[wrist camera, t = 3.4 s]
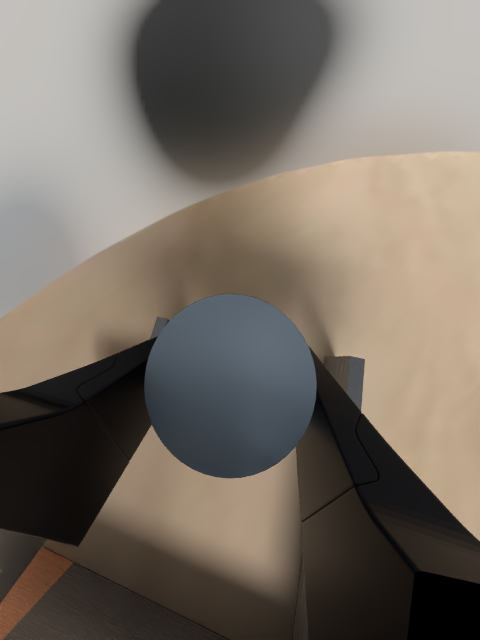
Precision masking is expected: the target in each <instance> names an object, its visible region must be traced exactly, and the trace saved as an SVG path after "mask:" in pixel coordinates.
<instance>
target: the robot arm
mask: <svg viewBox="0 0 480 640" xmlns="http://www.w3.org/2000/svg"><path fill="white" fill-rule="evenodd" d="M157 337H158V336H157ZM157 337H154V338H152V339H150V340H147V341H145V342H143V343H140V344H138V345H136V346H133V347H131V348H129V349H126V350H124V351H121V352H120V353H117V354H114V355H112V356H110V357H107V358H105V359H102V360H100V361H97V362H95V363H92V364H90V365H87V366H85V367H82V368H79V369H76V370H74V371H71V372H68V373H65V374H63V375H60V376H57V377H54V378H52V379H49V380H46V381H43V382H41V383H38V384H35V385H32V386H29V387H26V388H23V389H19V390H14V391H9V392H3V393H0V604H1V602H2V601H3V599H4V598H5V597H6V595H7V594H8V593H9V591H10V590H11V589H12V587H13V586H14V584H15V583H16V582H17V580H18V579H19V578H20V576H21V575H22V574H23V572H24V571H25V569H26V568H27V567H28V565H29V564H30V563H31V561H32V560H33V559H34V557H35V556H36V554H37V553H38V552H39V550H40V549H41V548H42V546H43V545H44V544H45V542H46V541H47V540H49V541H54V542H58V543H62V544H67V545H71V546H75V547H78V546H79V544H80V543H81V541H82V540H83V538H84V537H85V535H86V533H87V532H88V530H89V528H90V527H91V525H92V523H93V522H94V520H95V518H96V517H97V515H98V513H99V512H100V510H101V508H102V507H103V505H104V503H105V502H106V500H107V498H108V497H109V495H110V493H111V492H112V490H113V488H114V487H115V485H116V483H117V482H118V480H119V478H120V477H121V475H122V473H123V472H124V470H125V468H126V467H127V465H128V463H129V460H131V458H132V456H133V455H134V453H135V451H136V450H137V448H138V446H139V445H140V443H141V441H142V440H143V438H144V436H145V435H146V433H147V431H148V430H149V428H150V426H151V425H152V423H151V420H150V417H149V414H148V411H147V406H146V402H145V392H144V383H145V372H146V366H147V362H148V358H149V355H150V352H151V350H152V347H153V345H154V343H155V341H156V339H157ZM308 347H309V346H308ZM309 349H310V352H311V355H312V358H313V362H314V366H315V371H316V383H317V388H316V400H315V405H314V411H313V414H312V417H311V420H310V423H309V425H308V427H307V429H306V431H305V433H304V435H303V436H302V438H301V439H300V441H299V442H298V444H297V445H296V453H297V468H298V483H299V499H300V514H301V522H302V523H301V531H302V546H303V561H304V576H305V592H306V607H307V622H308V637H309V640H480V541H479V540H478V539H477V538H476V537H474V536H473V535H472V534H471V533H470V532H469V531H468V530H467V529H466V528H465V527H464V526H463V525H462V524H461V523H460V522H459V521H458V520H457V519H456V518H455V517H454V515H453V514H452V513H451V512H450V511H449V510H448V509H447V508H446V507H445V506H444V505H443V503H442V502H441V501H440V500H439V499H438V498H437V497H436V496H435V495H434V494H433V493H432V491H431V490H430V489H429V488H428V487H427V486H426V485H425V484H424V483H423V482H422V481H421V479H420V478H419V477H418V476H417V475H416V474H415V473H414V472H413V471H412V470H411V469H410V467H409V466H408V465H407V464H406V463H405V462H404V461H403V460H402V459H401V458H400V456H399V455H398V454H397V453H396V452H395V451H394V450H393V449H392V447H391V446H390V445H389V444H388V443H387V442H386V441H385V440H384V438H383V437H382V436H381V435H380V434H379V432H378V431H377V430H376V429H375V428H374V426H373V425H372V424H371V423H370V422H369V420H368V419H367V418H366V417H365V415H364V414H362V413H361V410H360V409H359V408H358V407H357V405H356V404H355V403H354V402H353V400H352V399H351V398H350V397H349V396H348V394H347V393H346V392H345V391H344V389H343V388H342V387H341V386H340V384H339V383H338V382H337V381H336V379H335V378H334V377H333V376H332V374H331V373H330V372H329V371H328V369H327V368H326V367H325V366H324V364H323V363H322V362H321V361H320V359H319V358H318V357H317V356H316V354H315V353H314V352H313V351H312V349H311V348H310V347H309Z"/></svg>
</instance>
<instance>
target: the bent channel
mask: <svg viewBox="0 0 480 640" xmlns="http://www.w3.org/2000/svg"><path fill="white" fill-rule="evenodd" d="M169 321H170V320H168V319H164V318H159V317H157V320H156V323H155V326H154V329H153V332H152V335H151V338H150V339H152V338H154V337H157V336H159V334H160V333H161V331H162V330H163V328H164V327H165V326H166V325H167V323H168V322H169ZM364 363H365V359H362V358H357V357H352V356H340V357H325V365H324V366H325V367H326V368H327V369H328V371H329V372H330V373H331V374H332V376H333V377H334V378H335V379H336V381H337V382H338V383H339V384H340V386H341V387H342V388H343V389H344V391H345V392H346V393H347V394H348V396H349V397H350V398H351V399H352V400H353V402H354V403H355V404H356V405H357V407H358V408H359V409H360V410H361V404H362V390H363V376H364ZM0 640H228V639H226V638H224V637H222V636H220V635H218V634H216V633H214V632H212V631H210V630H208V629H206V628H204V627H202V626H200V625H198V624H196V623H194V622H192V621H190V620H188V619H186V618H184V617H182V616H180V615H178V614H176V613H174V612H172V611H170V610H168V609H166V608H164V607H162V606H160V605H158V604H156V603H154V602H152V601H150V600H148V599H146V598H144V597H142V596H140V595H138V594H136V593H134V592H132V591H130V590H128V589H126V588H124V587H122V586H120V585H118V584H116V583H114V582H111V581H109V580H107V579H105V578H103V577H101V576H99V575H97V574H95V573H93V572H91V571H89V570H87V569H85V568H83V567H81V566H79V565H77V564H75V563H73V562H71V561H69V560H67V559H65V558H63V557H61V556H59V555H57V554H55V553H53V552H51V551H49V550H47V549H45V548H43V547H42V548H41V549H40V550H39V552H38V553H37V554H36V556H35V557H34V559H33V560H32V561H31V563H30V564H29V565H28V567H27V568H26V569H25V571H24V572H23V574H22V575H21V576H20V578H19V579H18V580H17V582H16V583H15V584H14V586H13V587H12V589H11V590H10V591H9V593H8V594H7V595H6V597H5V598H4V599H3V601H2V602H1V604H0ZM292 640H309V637H308V622H307V607H306V592H305V576H304V561H303V553H302V561H301V570H300V578H299V587H298V595H297V604H296V612H295V621H294V629H293V638H292Z"/></svg>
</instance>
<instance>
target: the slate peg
mask: <svg viewBox="0 0 480 640" xmlns="http://www.w3.org/2000/svg"><path fill="white" fill-rule="evenodd" d="M316 388H317V383H316V371H315V366H314V362H313V358H312V355H311V352H310V349H309V347H308V345H307V343H306V341H305V339H304V337H303V336H302V334H301V333H300V331H299V330H298V328H297V327H296V326H295V325H294V323H293V322H292V321H291V320H290V319H289V318H288V317H287V316H286V315H285V314H284V313H282V312H281V311H280V310H278V309H277V308H275V307H274V306H272V305H270V304H269V303H267V302H265V301H262V300H260V299H257V298H254V297H250V296H246V295H239V294H222V295H215V296H211V297H207V298H204V299H201V300H199V301H197V302H194V303H193V304H191V305H189V306H187V307H186V308H184V309H183V310H182V311H180V312H179V313H177V314H176V315H175V316H174V317H173V318H172V319H171V320H170V321H169V322H168V323H167V325H166V326H165V327H164V328H163V330H162V331H161V333H160V334H159V336H158V337H157V339H156V341H155V343H154V345H153V347H152V350H151V352H150V355H149V358H148V362H147V366H146V372H145V383H144V392H145V402H146V406H147V411H148V414H149V417H150V420H151V423H152V425H153V427H154V429H155V431H156V433H157V435H158V437H159V438H160V440H161V441H162V443H163V444H164V446H165V447H166V448H167V449H168V450H169V451H170V452H171V453H172V454H173V455H174V456H175V457H176V458H177V459H178V460H180V461H181V462H182V463H184V464H185V465H187V466H189V467H190V468H192V469H194V470H196V471H198V472H201V473H203V474H206V475H210V476H214V477H221V478H241V477H246V476H251V475H255V474H257V473H260V472H262V471H265V470H267V469H269V468H270V467H272V466H274V465H276V464H277V463H278V462H280V461H281V460H282V459H283V458H285V457H286V456H287V455H288V454H289V453H290V452H291V451H292V450H293V449H294V447H295V446H296V445H297V444H298V442H299V441H300V439H301V438H302V436H303V435H304V433H305V431H306V429H307V427H308V425H309V423H310V420H311V417H312V414H313V411H314V405H315V400H316Z"/></svg>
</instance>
